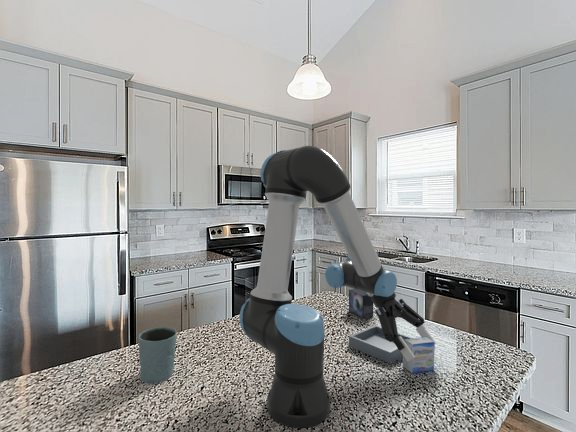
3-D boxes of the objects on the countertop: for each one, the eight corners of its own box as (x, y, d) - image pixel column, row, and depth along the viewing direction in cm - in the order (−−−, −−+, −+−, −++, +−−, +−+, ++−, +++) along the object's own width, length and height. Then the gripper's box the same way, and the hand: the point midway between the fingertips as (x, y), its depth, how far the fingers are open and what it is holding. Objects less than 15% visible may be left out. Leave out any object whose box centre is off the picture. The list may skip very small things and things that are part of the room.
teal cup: (140, 369, 93) (139, 329, 93) (176, 363, 97) (176, 324, 96) (136, 388, 84) (136, 343, 83) (177, 381, 87) (177, 338, 87)
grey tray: (390, 363, 98) (390, 352, 98) (348, 345, 110) (348, 336, 110) (415, 348, 109) (415, 338, 109) (375, 334, 121) (375, 324, 121)
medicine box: (411, 374, 92) (412, 344, 92) (402, 366, 97) (403, 338, 96) (434, 370, 94) (435, 342, 94) (424, 363, 99) (425, 335, 98)
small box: (347, 311, 146) (347, 289, 146) (358, 309, 149) (359, 287, 149) (361, 319, 137) (362, 295, 136) (373, 317, 139) (374, 293, 139)
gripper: (392, 291, 116) (432, 345, 105) (349, 305, 99) (392, 371, 89) (406, 279, 112) (449, 335, 101) (364, 292, 95) (410, 360, 85)
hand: (422, 352), depth 95 cm, fingers open, 13 cm apart
